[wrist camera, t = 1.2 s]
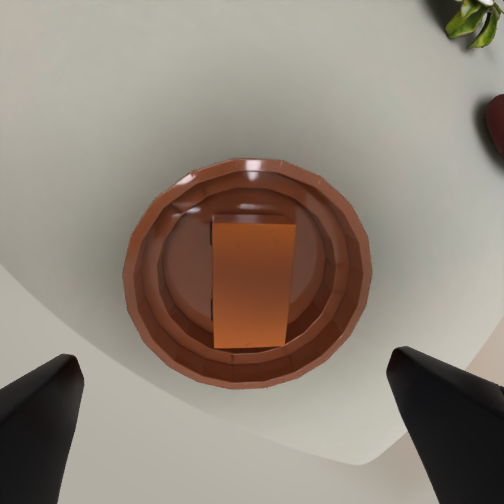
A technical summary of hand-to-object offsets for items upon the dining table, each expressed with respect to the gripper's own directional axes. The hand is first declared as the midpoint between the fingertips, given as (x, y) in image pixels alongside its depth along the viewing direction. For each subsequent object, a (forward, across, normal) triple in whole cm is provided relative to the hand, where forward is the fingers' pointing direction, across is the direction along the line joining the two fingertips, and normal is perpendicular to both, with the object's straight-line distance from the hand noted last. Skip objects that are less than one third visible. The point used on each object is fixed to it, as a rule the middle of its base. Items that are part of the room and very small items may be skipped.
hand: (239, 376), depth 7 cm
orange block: (+11, -1, +1) cm, 11 cm away
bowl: (+12, -1, +1) cm, 12 cm away
